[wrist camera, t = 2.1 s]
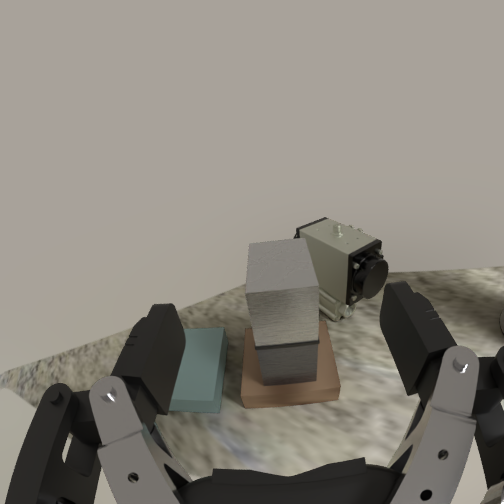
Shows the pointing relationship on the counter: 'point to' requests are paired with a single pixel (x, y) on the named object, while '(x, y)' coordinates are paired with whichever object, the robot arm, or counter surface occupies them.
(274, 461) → the counter surface
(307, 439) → the counter surface
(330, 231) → the pneumatic valve
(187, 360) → the stand
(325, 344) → the stand
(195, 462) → the counter surface
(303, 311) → the block
